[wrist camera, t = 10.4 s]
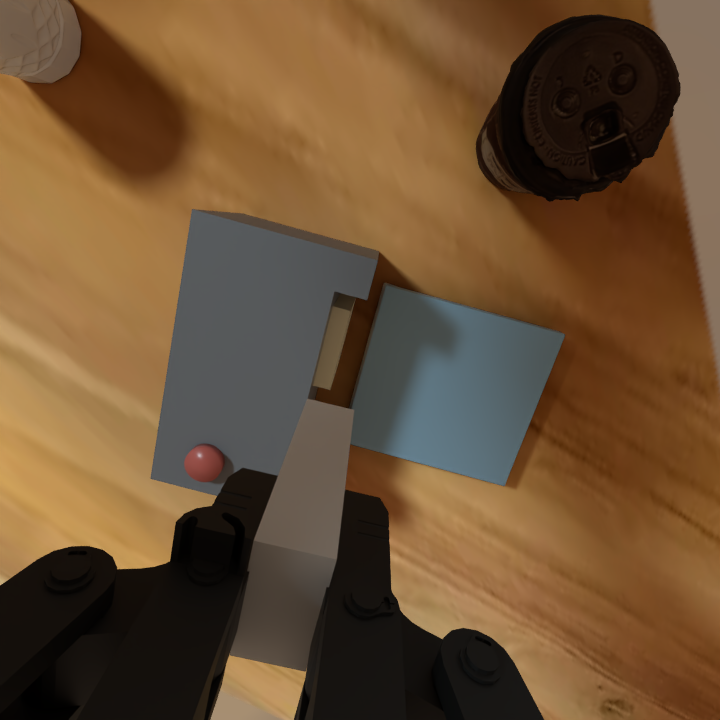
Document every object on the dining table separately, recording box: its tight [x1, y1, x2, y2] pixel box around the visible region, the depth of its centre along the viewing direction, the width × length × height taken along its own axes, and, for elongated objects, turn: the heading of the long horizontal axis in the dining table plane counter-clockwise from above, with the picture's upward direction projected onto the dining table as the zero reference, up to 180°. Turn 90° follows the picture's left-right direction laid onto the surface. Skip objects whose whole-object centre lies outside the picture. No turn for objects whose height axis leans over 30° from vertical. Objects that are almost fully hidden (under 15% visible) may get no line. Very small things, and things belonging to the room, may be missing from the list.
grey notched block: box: [151, 209, 379, 496], centre depth 34 cm, size 19×11×11 cm, turn 165°
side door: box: [349, 283, 565, 486], centre depth 38 cm, size 14×2×14 cm
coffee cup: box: [476, 15, 680, 201], centre depth 28 cm, size 9×8×13 cm
